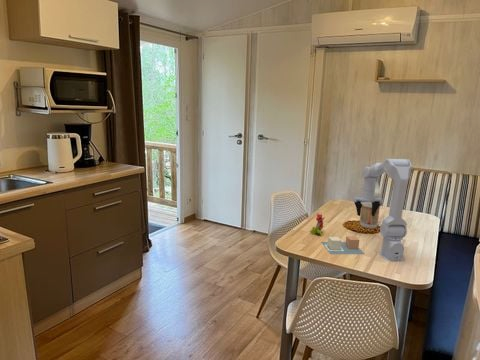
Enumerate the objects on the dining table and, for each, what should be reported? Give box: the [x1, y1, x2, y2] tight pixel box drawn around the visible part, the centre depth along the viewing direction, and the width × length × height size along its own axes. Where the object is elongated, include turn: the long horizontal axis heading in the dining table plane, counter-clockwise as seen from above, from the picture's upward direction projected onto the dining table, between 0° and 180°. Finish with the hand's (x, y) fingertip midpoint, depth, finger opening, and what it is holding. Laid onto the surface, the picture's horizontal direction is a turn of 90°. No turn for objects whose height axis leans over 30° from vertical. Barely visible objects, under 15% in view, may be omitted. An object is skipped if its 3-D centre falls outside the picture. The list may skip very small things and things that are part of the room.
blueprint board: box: [320, 241, 365, 255], centre depth 168 cm, size 14×16×1 cm
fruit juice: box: [359, 176, 382, 230], centre depth 198 cm, size 9×9×28 cm
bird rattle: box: [309, 213, 326, 237], centre depth 185 cm, size 6×11×9 cm
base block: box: [327, 236, 342, 250], centre depth 167 cm, size 4×4×4 cm
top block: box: [345, 235, 360, 249], centre depth 168 cm, size 4×4×4 cm
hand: (365, 215), depth 187 cm, fingers open, 7 cm apart
